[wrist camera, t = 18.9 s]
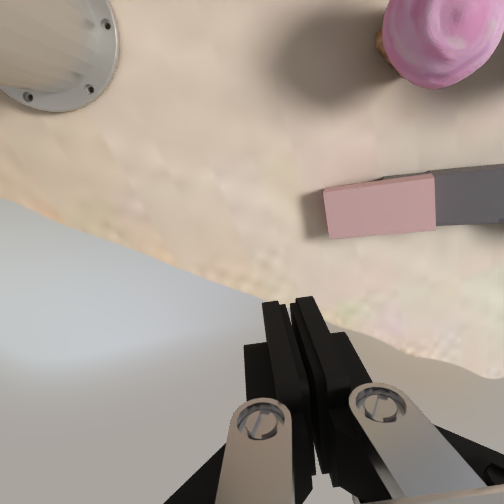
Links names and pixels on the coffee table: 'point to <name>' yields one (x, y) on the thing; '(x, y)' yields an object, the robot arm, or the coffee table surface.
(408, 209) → the rose domino
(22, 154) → the coffee table surface
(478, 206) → the domino
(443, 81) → the cupcake
